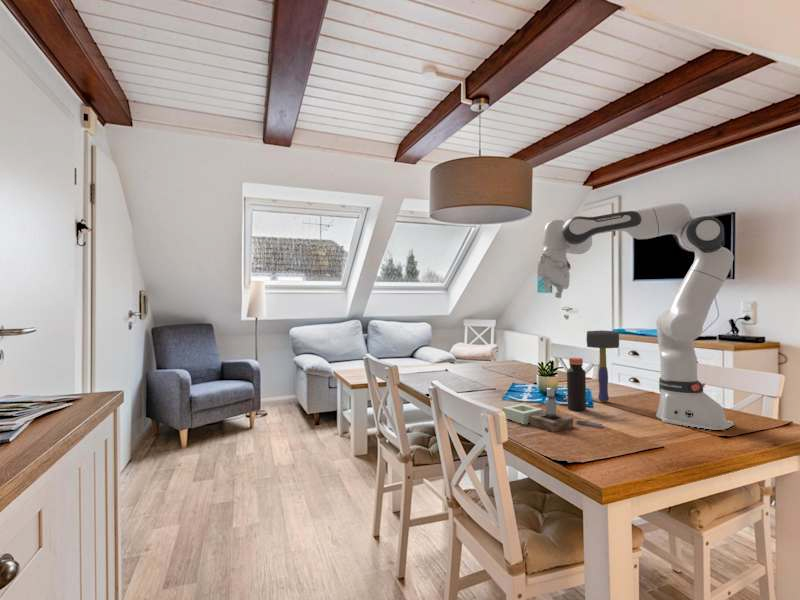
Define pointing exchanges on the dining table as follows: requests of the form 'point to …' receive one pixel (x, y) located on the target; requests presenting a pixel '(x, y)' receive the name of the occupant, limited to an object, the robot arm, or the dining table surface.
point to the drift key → (589, 424)
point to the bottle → (576, 385)
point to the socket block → (551, 422)
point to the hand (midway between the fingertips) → (553, 294)
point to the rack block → (521, 412)
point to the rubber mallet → (603, 356)
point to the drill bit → (550, 404)
